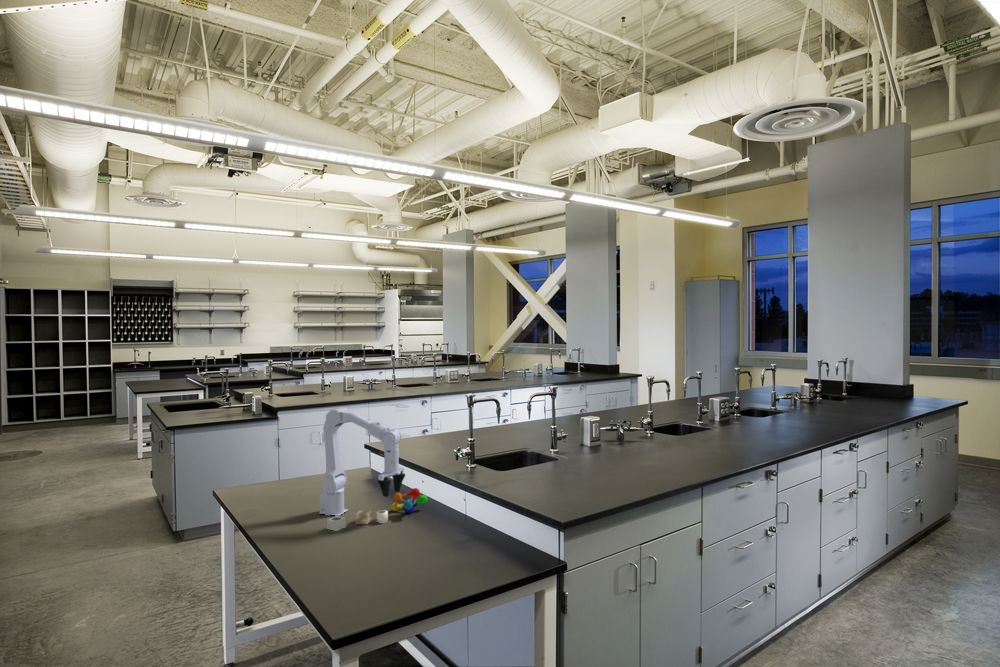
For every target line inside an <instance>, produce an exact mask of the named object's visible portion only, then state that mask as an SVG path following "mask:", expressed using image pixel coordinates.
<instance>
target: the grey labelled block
mask: <svg viewBox="0 0 1000 667" xmlns="http://www.w3.org/2000/svg"><path fill="white" fill-rule="evenodd" d="M345 527H346V528H347V517H343V516H332V517H331V518H328V519H326V530H327V529H330V530H335V531H338V530H340V529H342V528H345ZM346 528H345V529H346ZM342 530H343V529H342ZM340 531H341V530H340ZM338 532H339V531H338Z"/></svg>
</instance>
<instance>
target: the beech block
mask: <svg viewBox="0 0 1000 667" xmlns="http://www.w3.org/2000/svg"><path fill="white" fill-rule="evenodd" d="M371 520H372V521H373V510H359V511H357V512H356V514H355V525H357V524H368V523H369V522H370V521H371ZM372 521H371V522H372ZM371 522H370V523H371ZM370 523H369V524H370ZM369 524H368V525H369Z"/></svg>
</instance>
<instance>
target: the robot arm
mask: <svg viewBox="0 0 1000 667" xmlns="http://www.w3.org/2000/svg"><path fill="white" fill-rule="evenodd" d="M346 423H352V424H355V425H357V426H359V427H361V428H363V429H365V430H367V431H368V432H367V433H368V435H370V436H372V437H373V438H376V439H377V440H379V441H381V442H382V445H383V446H384V447H383V448H384V453H383V454H384V457H383V458H384V462H383V463H384V466H383V468H384V469H383V470H384V471H383V472H381V473H379V474H378V476H377V477H378V478H377V483H378V485H379V486H380V490H381V492H382V497H385V498H388V497H389V495H390V485H391V483H392V480H393V490H394V492H396V493H401V487H402V484H403V481H404V479H405V477H406V473H404V472H405V467H402V466H401V467H400V463H399V460H400V459H399V458H400V454H399V453H400V452H399V451H400V447H399V443H400V442H401V441H402V434H401V432H400V431H398V429H396V428H395V429H391V427H387V426H386V425H383V423H382V422H381V421H373V422H372V421H370V420H369V419H367V418H365V417H364V416H362V415H360V414H359V413H357V412H356V411H355V410H354V409H352V408H349V407H348V406H343V407H339V408H335V409H330V410H329V411H328V412H327V413H326V414H325V421H324V424H323V428H322V430H323V439H324V448H325V450H324V451H325V461H326V468H327V469H326V471H325V473H324V474H323V481H322V488H323V491H322V492H321V493H320V496H319V513H318V515H319V514H325V515H324V516H330V515H335V516H339V517H341V514H342V515H343V514H345V513H346V512H348V511H349V509H347V508H345V488H346V486H347V484H348V478H347V475H346V472H345V470H344V469H343V467H341V466H342V465H341V456H340V455H341V454H340V446H339V435H338V430H339V429H340V428H341V427H342V426H343V425H344V424H346ZM391 477H392V479H388V478H391ZM344 512H345V513H344ZM335 516H334V517H335Z"/></svg>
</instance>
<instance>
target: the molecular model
mask: <svg viewBox="0 0 1000 667" xmlns="http://www.w3.org/2000/svg"><path fill="white" fill-rule="evenodd" d="M409 496H410V498H409V499H407V500H405V499H403V498H405V497H409ZM416 497H418V498H417V499H416ZM393 499H394V502H393V503H392V504H391V507H390V508H391V511H393V512H398V511H399V510H405V511H406V513H407V514H412V513H414V512H415V508H416V507H417V506H419V505H420V504H425V503H427V502H428V497H427V495H426V494H422V495H421V493H420V489H419V488H417V487H414V488H412V489H411V491H410V492H407V493H401V492H396V493H395V494H394V495H393ZM399 503H400V504H399Z"/></svg>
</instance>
